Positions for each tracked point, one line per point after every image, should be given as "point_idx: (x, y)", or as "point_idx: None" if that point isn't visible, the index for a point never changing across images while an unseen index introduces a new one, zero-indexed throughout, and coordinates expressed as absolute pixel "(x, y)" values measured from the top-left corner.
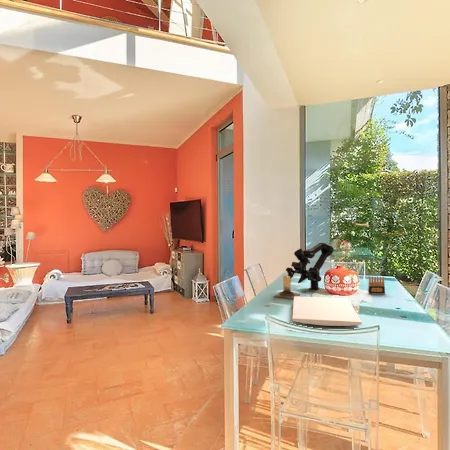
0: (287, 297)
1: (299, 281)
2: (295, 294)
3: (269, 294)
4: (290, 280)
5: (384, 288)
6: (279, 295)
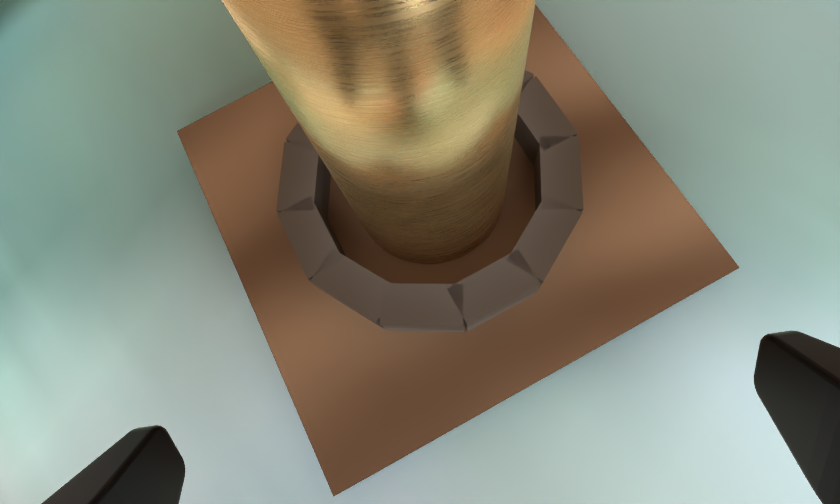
0: None
1: (81, 500)
2: (347, 354)
3: (711, 20)
4: (238, 24)
5: None
6: None
